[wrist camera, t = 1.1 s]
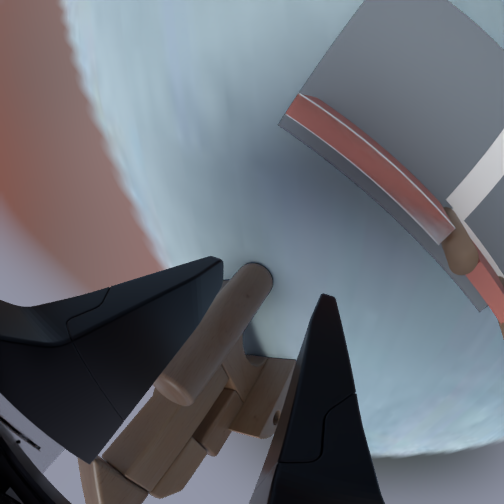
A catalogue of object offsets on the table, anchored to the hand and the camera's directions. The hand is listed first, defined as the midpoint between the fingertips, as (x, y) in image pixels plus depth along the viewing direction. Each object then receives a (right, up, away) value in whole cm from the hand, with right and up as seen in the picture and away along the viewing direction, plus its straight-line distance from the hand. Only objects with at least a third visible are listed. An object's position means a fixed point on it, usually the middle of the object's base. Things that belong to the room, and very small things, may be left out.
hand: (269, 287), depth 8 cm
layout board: (+13, +8, +4) cm, 16 cm away
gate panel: (+7, +7, +7) cm, 12 cm away
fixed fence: (+15, +1, +7) cm, 17 cm away
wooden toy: (0, -7, +19) cm, 21 cm away
